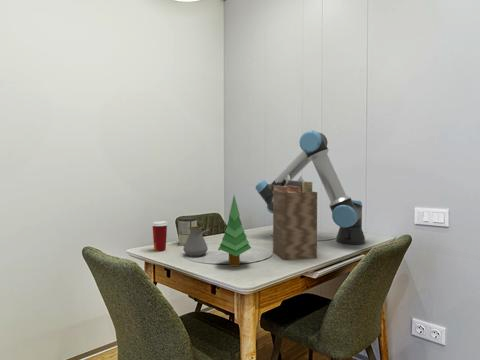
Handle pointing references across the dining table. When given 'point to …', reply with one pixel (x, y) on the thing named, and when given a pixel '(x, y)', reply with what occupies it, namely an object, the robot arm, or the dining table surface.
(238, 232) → the decorative tree
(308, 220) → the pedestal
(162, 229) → the paper cup
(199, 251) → the coffee pot
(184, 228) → the coffee can
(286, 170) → the robot arm
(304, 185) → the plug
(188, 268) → the dining table surface
